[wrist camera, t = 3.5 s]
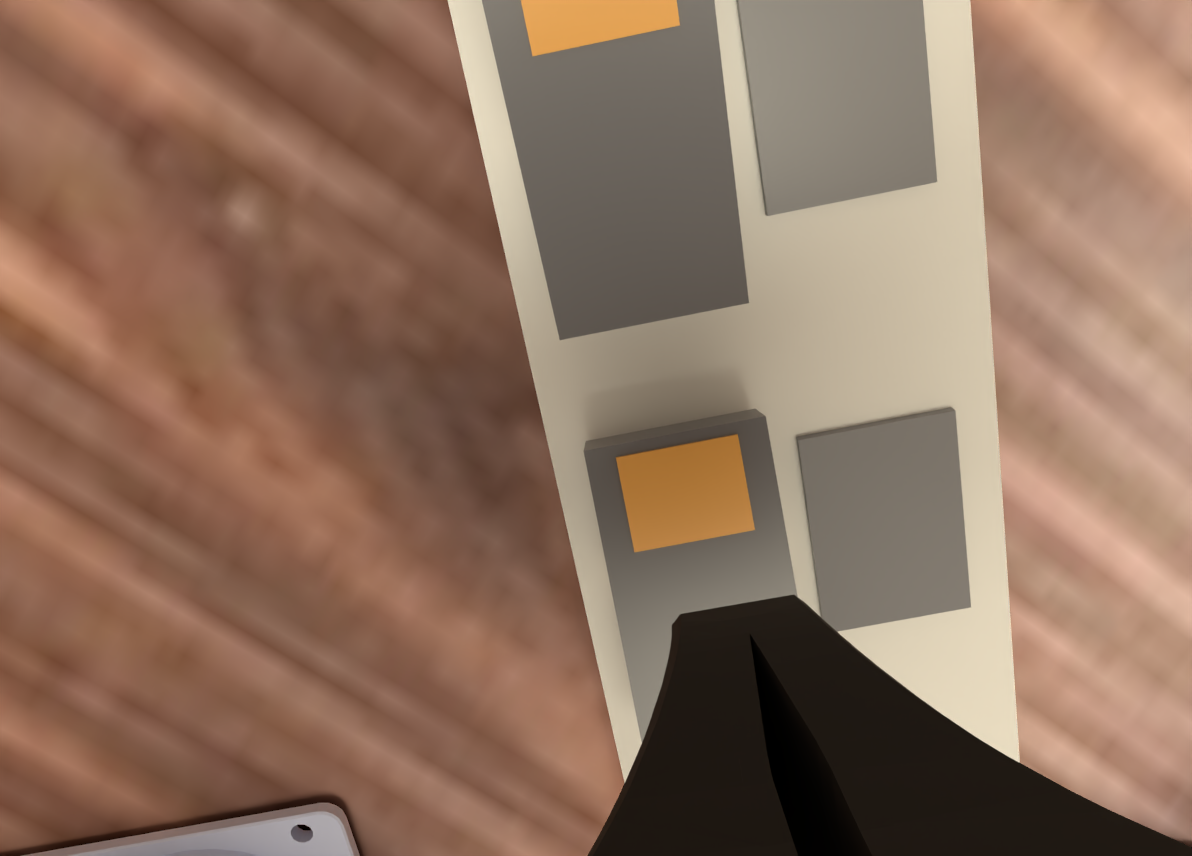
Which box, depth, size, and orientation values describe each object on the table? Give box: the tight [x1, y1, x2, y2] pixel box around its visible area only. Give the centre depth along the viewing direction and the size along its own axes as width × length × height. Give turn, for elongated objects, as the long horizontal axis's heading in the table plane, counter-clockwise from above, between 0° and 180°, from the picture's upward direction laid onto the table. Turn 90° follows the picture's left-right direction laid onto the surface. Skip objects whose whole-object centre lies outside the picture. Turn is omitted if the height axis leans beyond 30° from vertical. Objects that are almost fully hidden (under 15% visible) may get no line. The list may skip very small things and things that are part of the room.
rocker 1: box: [482, 0, 749, 340], centre depth 14 cm, size 3×6×1 cm, turn 11°
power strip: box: [448, 0, 1020, 783], centre depth 20 cm, size 8×30×4 cm, turn 11°
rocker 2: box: [584, 409, 798, 742], centre depth 17 cm, size 3×6×1 cm, turn 11°
